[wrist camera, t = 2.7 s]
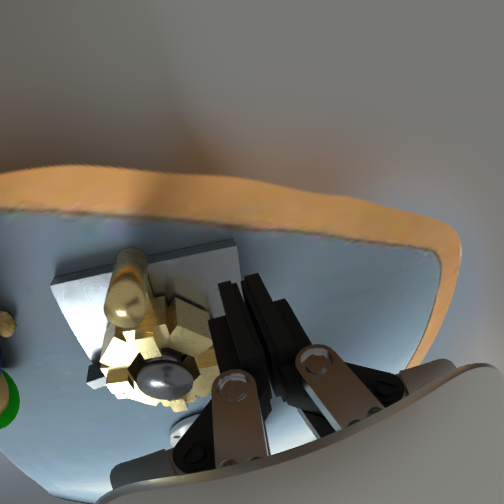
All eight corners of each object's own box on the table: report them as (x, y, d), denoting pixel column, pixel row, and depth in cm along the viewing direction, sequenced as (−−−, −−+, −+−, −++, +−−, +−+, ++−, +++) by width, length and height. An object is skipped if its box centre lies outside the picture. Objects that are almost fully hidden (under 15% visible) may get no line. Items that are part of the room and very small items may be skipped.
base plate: (250, 364, 27) (267, 409, 22) (114, 390, 24) (112, 436, 19) (233, 238, 20) (254, 281, 15) (48, 278, 17) (24, 326, 13)
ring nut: (225, 366, 24) (239, 412, 20) (131, 384, 22) (131, 430, 18) (196, 233, 18) (206, 275, 13) (67, 262, 16) (44, 308, 12)
